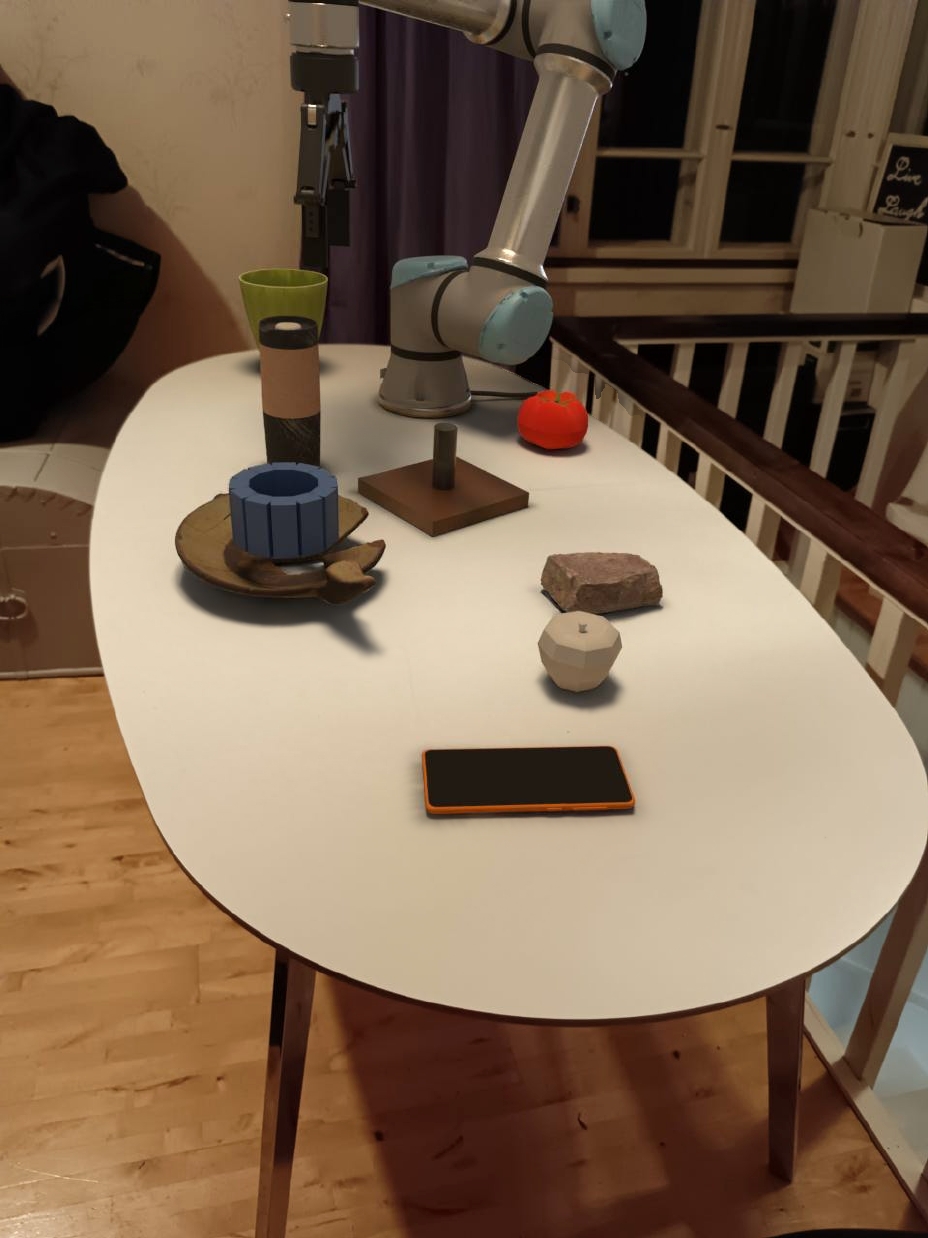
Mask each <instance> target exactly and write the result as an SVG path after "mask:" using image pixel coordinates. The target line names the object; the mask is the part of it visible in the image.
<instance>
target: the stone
mask: <svg viewBox="0 0 928 1238" xmlns="http://www.w3.org/2000/svg"><path fill="white" fill-rule="evenodd" d="M659 574H660V573H659V570H658V568H657V567H656V565H654V564H651V562H650V561H648V560H647V559H645V558H643V557H641V555H639V554H633V553H628V552H601V551H597V552H594V551H588V552H587V551H586V552H573V553H571V552H570V553H558V554H555V553H554V554H552V555H551V554H549V555H548V556H547V558H546V561H545V564H544V566H543V569H542V573H541V576H540V585H541V586H542V588H543V589H544V590H545V591H547V592H548V594H549V595H550V598H552V599H553V601H554V602H555V603H557V604H558V607H560V608H561V610H562V611H565V613H568V612H574V611H582V612H586V613H590V614H594V615H598V614H599V615H601V614H604V613H611V612H615V611H620V610H631V609H636V608H641V607H647V606H656V605H657V604H659V603H660V602H661V600H662V598H663V595H664V594H663V593H664V588H663V585H662V584H661V581H660V575H659Z"/></svg>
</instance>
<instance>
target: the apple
mask: <svg viewBox="0 0 928 1238" xmlns="http://www.w3.org/2000/svg"><path fill="white" fill-rule="evenodd" d="M537 647H538V652H539V656H540V657H539V658H540V661H541V663H542V665H543V667H544V669H545V671H546V673H547V675H549V677H550V678H551V680H552V681H553V682H554V684H556V686H557V687H559V688H560V689H564V690H566V691H571V692H574V693H580V692H584V691H585V692H586V691H590V690H593V689H595V688H597V687H599V685H600V684H601V683H602V682H603V681H604V680H606V678H607V676H608V674H609V673H610V671H611V669H612V668H613V666H614V663H615V662H616V660H617V658H618V656H619V654H620V652H621V651H622V649H623V644H622V637H621V633H620V631H619V630H618V629H617V628H616V626H613V624H612V623H611V622H610V621H609V620H608V619H607V618H606V617H605V616H601V615H598V614H596V615H594V614H590V613H586V612H582V611H574V612H568V613H567V612H563V613H557V614H554V615H552V616H551V618H550V620H549V621H548V622H547V624H546V625H545V627H544V628H543V630H542V632H541V634H540V637H539V639H538V641H537Z"/></svg>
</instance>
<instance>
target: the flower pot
mask: <svg viewBox="0 0 928 1238" xmlns="http://www.w3.org/2000/svg"><path fill="white" fill-rule="evenodd" d="M328 282H329V278H328V277H327V276H326V275H325V274H323V273H320V272H318V271H317V272H316V271H313V270H312V271H311V270H306V269H295V268H265V269H262V268H261V269H256V270H250V271H246V272H242V273H241V274H240V275H238V283H239V288H240V292H241V297H242V302H243V305H244V310H245V313H246V318H247V320H248V323H249V327H250V330H251V333H252V336H253V339H254V341H255V345H256V347H257V350H258V352H259V353H260V346H259V327H258V323H259V321H260V320H261V319H264V318H267V317H272V316H283V315H290V316H302V317H307V318H311V319H313V320H315V321H316V322H317V324H318V341H319V340H320V336H321V331H322V326H323V321H324V316H325V311H326V310H325V309H326V301H327V291H328Z"/></svg>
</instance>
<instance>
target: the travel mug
mask: <svg viewBox="0 0 928 1238" xmlns="http://www.w3.org/2000/svg"><path fill="white" fill-rule="evenodd" d="M258 327H259V346H260V352H259V363H260V364H259V365H260V387H261V407H262V408H261V409H262V419H263V420H262V421H263V431H264V442H265V443H264V444H265V453H266V463H269V464H270V465H272V463H286V462H296V465H297V464H299V463H303V464H308V465H313V466H318V467H320V468H321V434H322V433H321V431H322V430H321V425H322V423H321V422H322V421H321V418H322V417H321V416H322V411H321V408H322V406H321V405H322V404H321V379H320V349H319V348H320V347H319V340H318V324H317V322H316V321H315V320H313V319H311V318H307V317H302V316H290V315H283V316H272V317H267V318H264V319H261V320H260V321H259V323H258Z"/></svg>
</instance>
